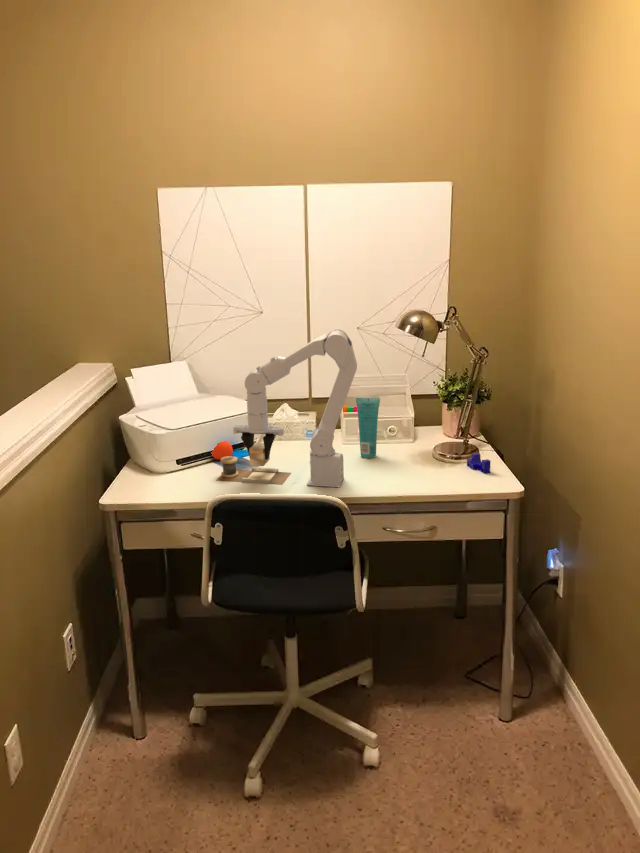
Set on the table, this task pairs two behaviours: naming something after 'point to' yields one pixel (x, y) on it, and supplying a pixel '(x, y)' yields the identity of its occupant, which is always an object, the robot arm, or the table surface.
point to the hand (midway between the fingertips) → (259, 457)
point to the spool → (229, 466)
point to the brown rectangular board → (259, 476)
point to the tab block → (258, 455)
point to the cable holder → (478, 463)
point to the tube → (368, 425)
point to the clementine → (222, 450)
